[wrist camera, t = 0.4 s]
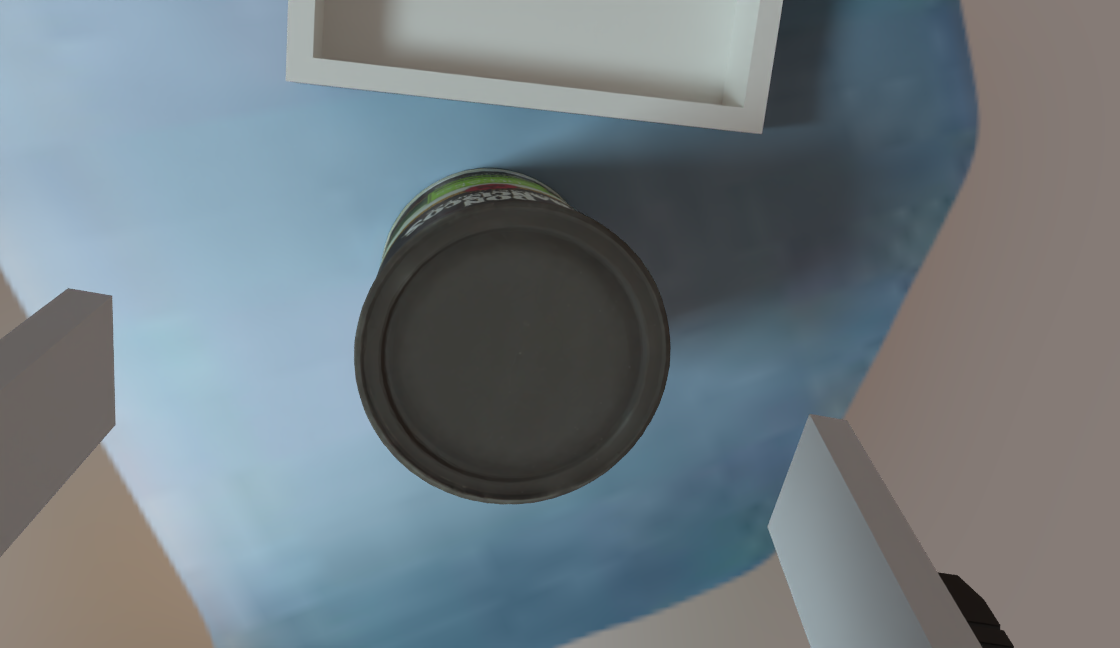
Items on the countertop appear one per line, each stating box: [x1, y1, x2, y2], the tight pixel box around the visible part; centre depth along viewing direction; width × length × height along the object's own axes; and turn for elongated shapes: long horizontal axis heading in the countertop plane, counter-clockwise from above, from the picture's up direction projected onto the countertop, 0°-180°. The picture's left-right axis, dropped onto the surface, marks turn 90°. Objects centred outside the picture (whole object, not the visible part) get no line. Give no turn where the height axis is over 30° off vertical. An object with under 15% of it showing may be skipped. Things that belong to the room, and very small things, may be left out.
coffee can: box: [354, 168, 670, 504], centre depth 34 cm, size 10×10×14 cm
